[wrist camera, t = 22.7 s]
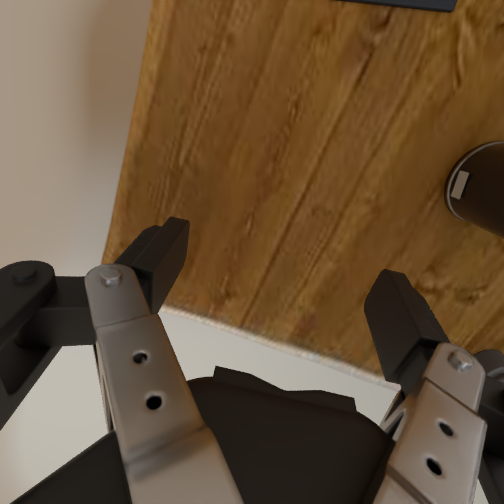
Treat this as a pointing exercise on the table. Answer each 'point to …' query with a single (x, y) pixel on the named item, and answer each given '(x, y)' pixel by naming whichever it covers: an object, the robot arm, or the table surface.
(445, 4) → the mat
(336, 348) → the table surface
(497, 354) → the candle holder
